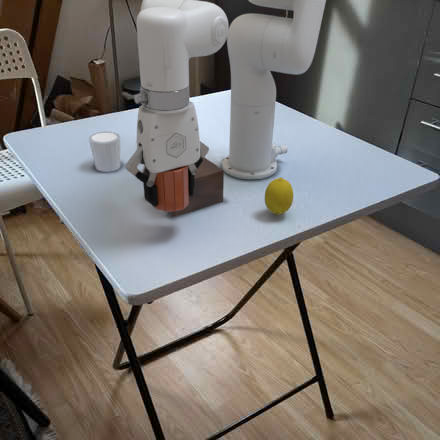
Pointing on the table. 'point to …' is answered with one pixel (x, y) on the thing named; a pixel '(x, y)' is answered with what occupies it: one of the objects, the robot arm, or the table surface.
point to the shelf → (205, 188)
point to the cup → (172, 189)
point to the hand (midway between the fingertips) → (170, 197)
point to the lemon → (279, 196)
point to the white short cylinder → (105, 150)
